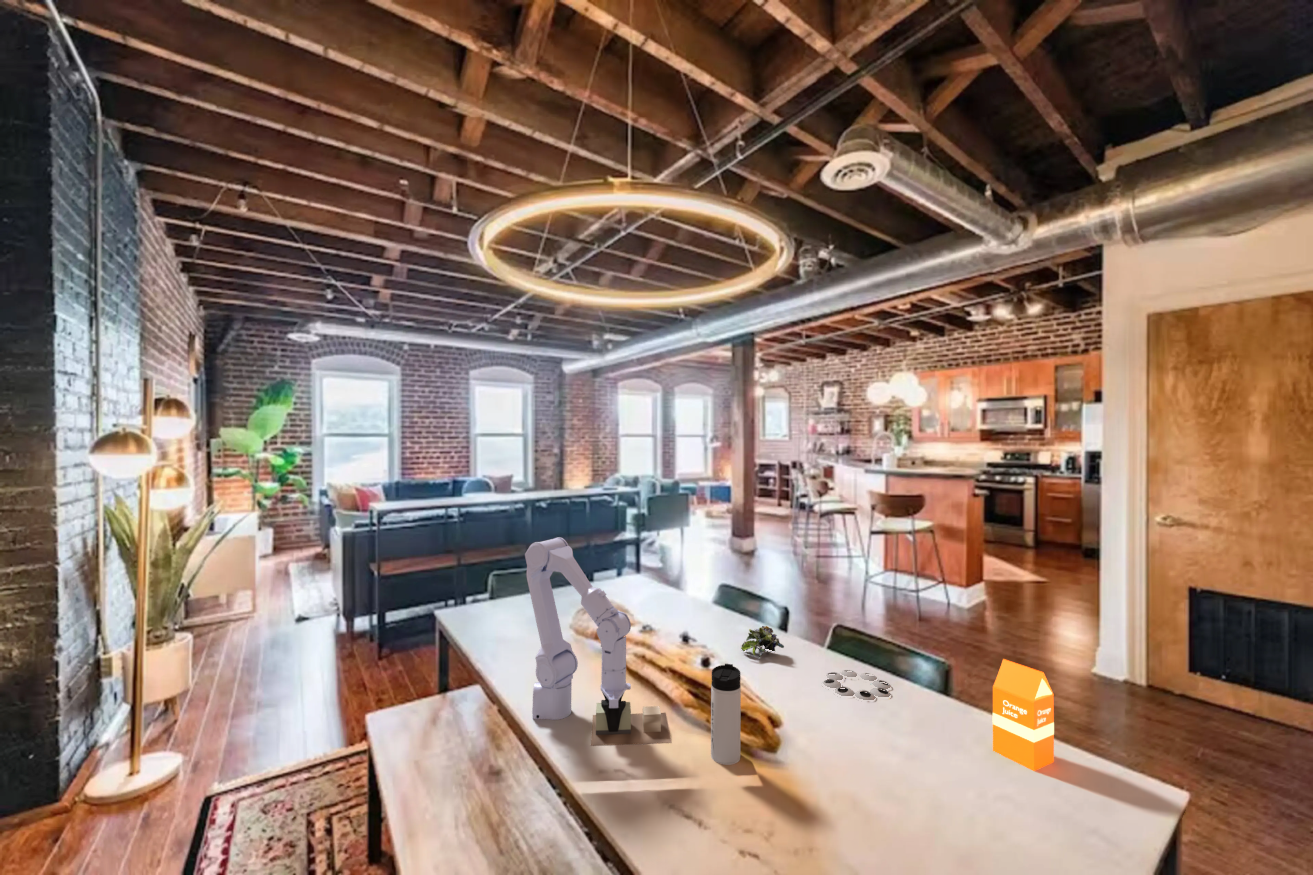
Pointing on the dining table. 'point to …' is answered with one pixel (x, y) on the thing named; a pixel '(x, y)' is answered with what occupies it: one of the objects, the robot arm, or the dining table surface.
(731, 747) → the travel mug
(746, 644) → the passion flower
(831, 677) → the silver black segmented ring
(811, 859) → the dining table surface
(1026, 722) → the orange juice
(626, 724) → the block
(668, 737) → the walnut board
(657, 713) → the birch offcut
